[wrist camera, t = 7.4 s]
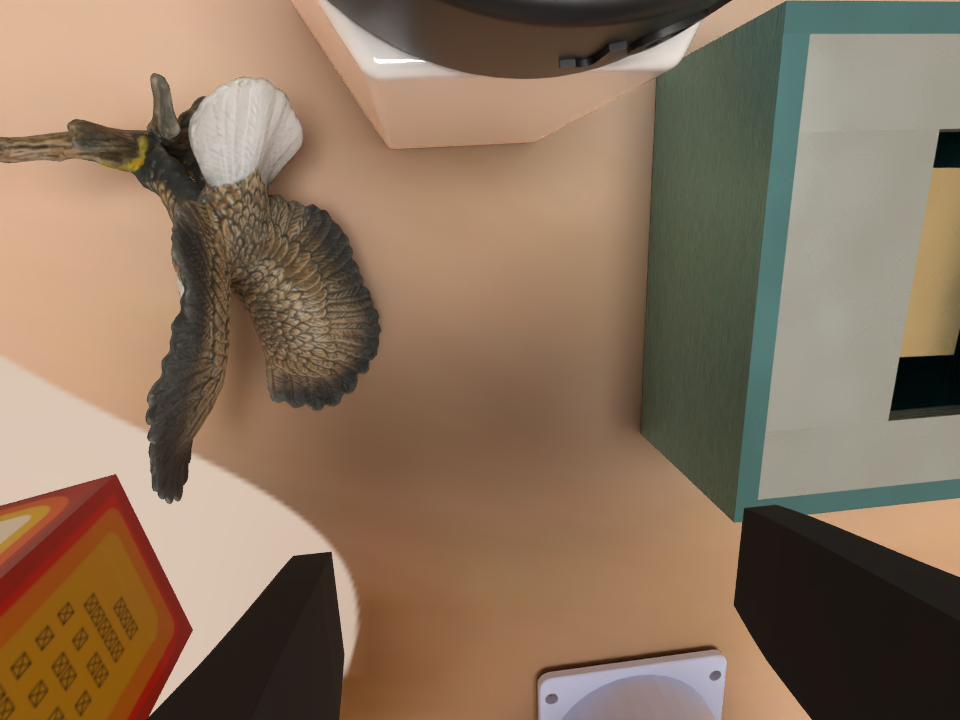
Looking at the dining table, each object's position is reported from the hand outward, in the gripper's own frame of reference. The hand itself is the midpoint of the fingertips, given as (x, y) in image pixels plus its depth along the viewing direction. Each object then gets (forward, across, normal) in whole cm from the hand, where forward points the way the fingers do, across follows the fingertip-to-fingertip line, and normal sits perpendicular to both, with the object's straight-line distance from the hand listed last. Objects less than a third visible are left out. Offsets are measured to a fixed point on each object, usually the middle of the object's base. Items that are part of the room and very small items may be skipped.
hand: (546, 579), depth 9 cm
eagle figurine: (+10, +7, -4) cm, 13 cm away
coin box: (+10, -12, -4) cm, 16 cm away
